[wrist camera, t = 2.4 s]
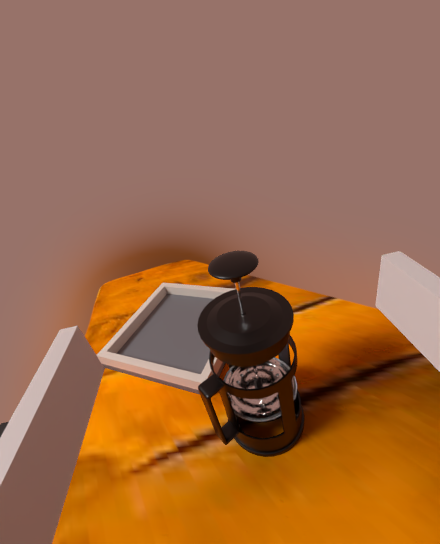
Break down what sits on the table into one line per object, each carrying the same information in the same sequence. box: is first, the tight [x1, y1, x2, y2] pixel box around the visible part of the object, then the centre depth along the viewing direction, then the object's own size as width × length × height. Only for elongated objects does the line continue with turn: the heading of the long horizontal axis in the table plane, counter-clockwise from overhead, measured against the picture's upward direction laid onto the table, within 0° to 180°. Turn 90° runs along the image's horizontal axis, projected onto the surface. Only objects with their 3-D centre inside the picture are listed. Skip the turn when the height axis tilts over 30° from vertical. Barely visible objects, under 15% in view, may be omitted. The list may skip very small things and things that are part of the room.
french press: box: [197, 251, 304, 457], centre depth 28 cm, size 12×9×23 cm
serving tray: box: [96, 283, 235, 394], centre depth 50 cm, size 20×20×3 cm
